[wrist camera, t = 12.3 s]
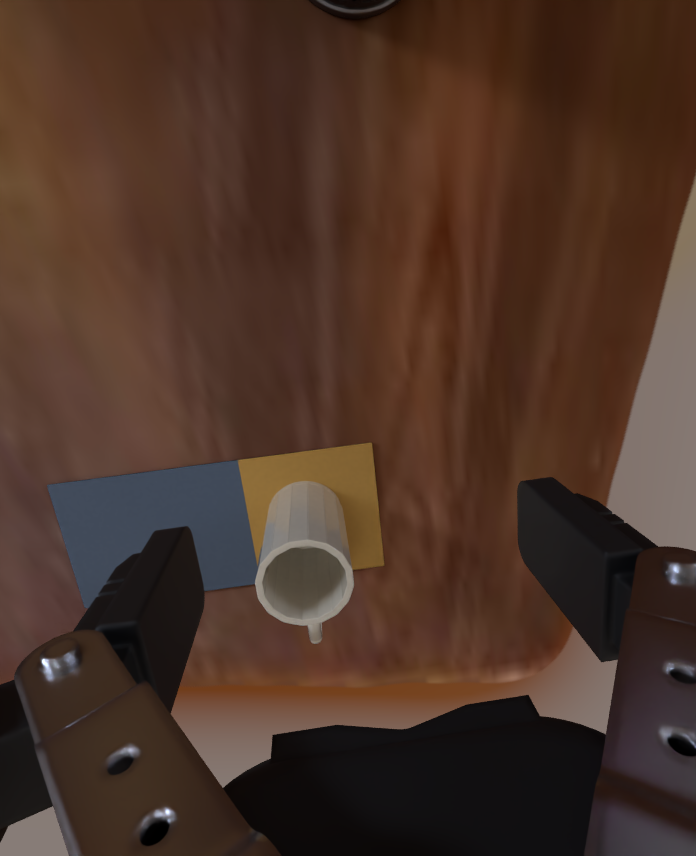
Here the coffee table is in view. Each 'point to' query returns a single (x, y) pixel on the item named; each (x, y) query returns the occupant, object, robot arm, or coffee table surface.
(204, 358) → the coffee table surface
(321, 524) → the mug
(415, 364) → the coffee table surface
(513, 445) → the coffee table surface
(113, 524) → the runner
